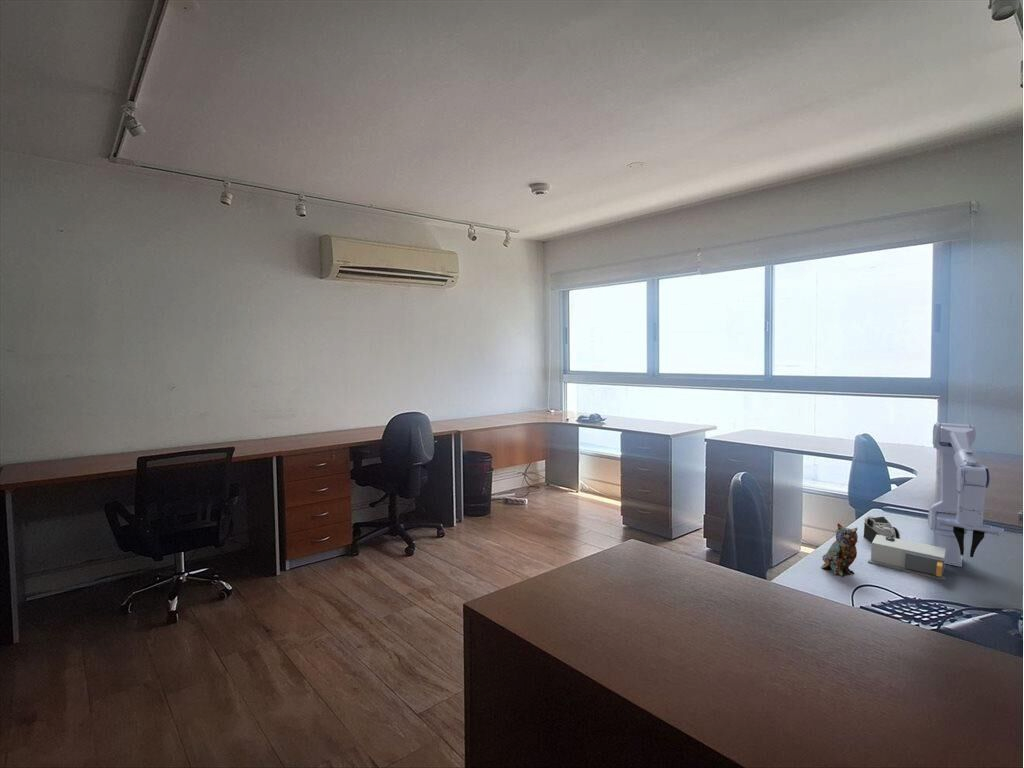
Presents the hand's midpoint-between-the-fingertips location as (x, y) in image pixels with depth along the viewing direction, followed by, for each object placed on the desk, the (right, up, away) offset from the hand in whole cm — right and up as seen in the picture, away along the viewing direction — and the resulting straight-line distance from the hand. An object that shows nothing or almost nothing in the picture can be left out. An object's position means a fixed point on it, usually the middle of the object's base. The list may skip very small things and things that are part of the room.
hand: (966, 555), depth 154 cm
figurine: (-30, -9, +11) cm, 33 cm away
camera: (-2, -7, +32) cm, 33 cm away
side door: (-7, -8, +8) cm, 13 cm away
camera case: (-6, -8, +16) cm, 19 cm away
